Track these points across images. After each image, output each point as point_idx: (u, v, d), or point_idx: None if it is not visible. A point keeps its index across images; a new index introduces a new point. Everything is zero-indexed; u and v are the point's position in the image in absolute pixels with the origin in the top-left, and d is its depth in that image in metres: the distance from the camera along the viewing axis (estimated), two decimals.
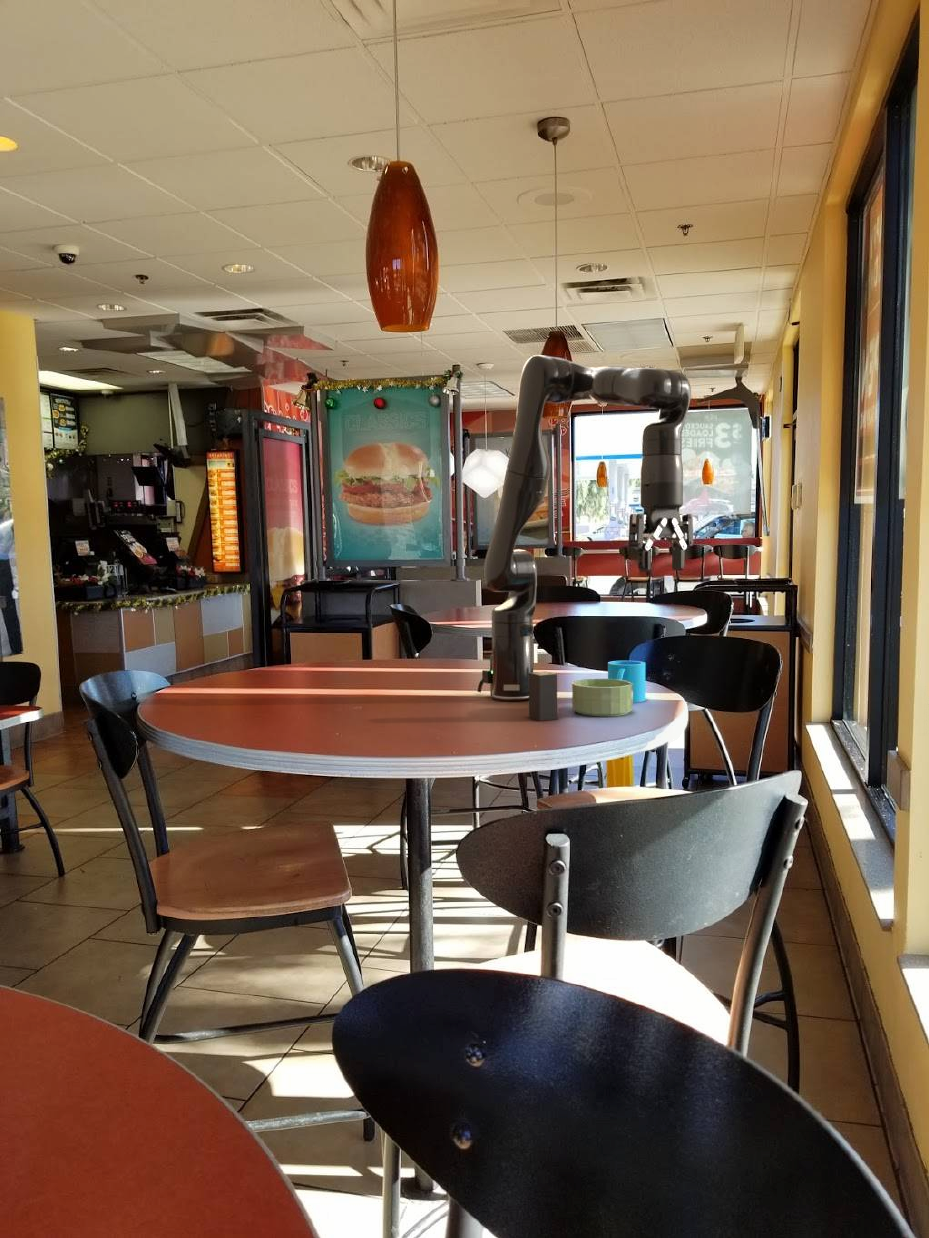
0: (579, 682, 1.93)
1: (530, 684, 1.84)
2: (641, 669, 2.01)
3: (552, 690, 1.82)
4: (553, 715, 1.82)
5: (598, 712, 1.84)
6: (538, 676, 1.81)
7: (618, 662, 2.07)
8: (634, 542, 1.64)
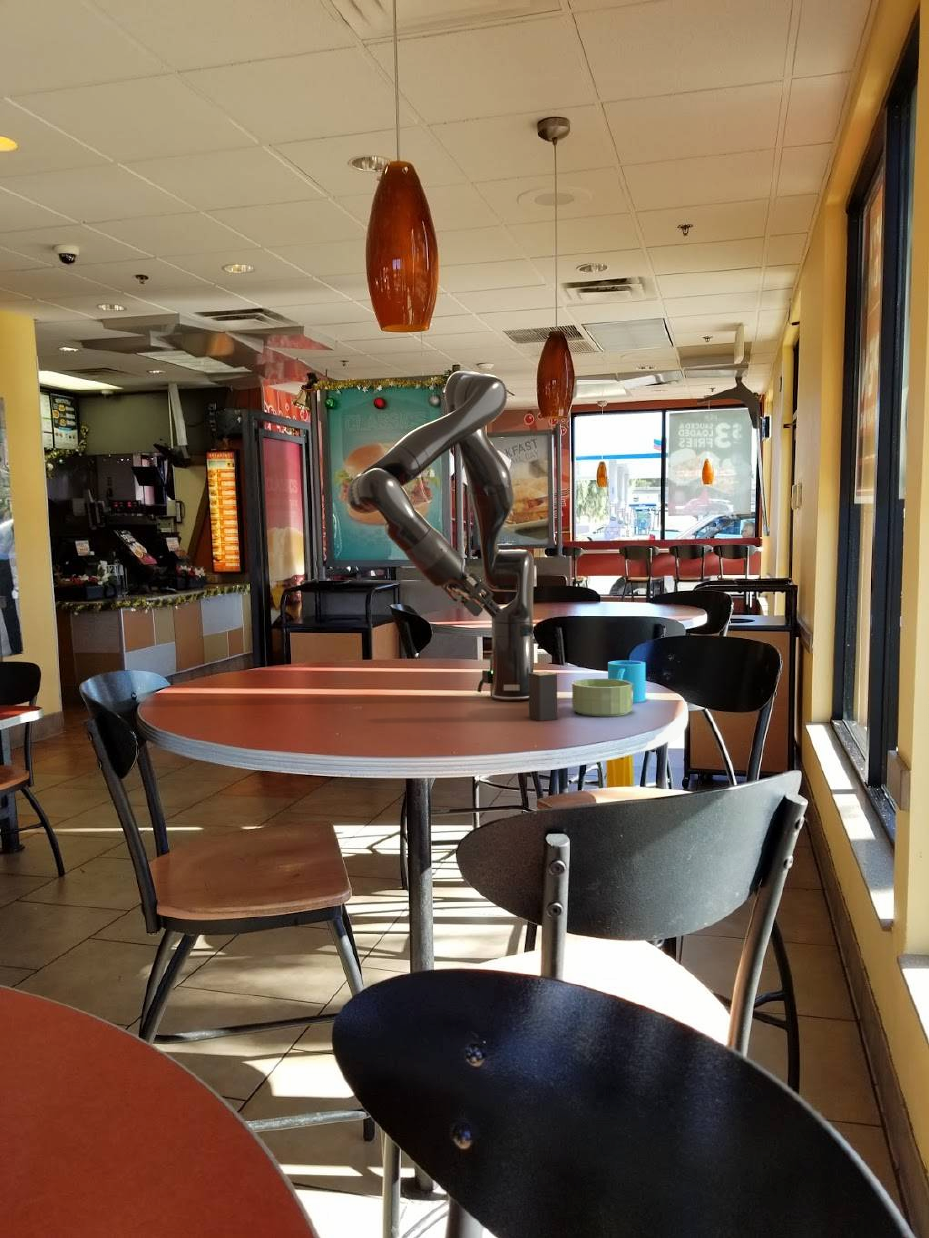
0: (579, 682, 1.93)
1: (530, 684, 1.84)
2: (641, 669, 2.01)
3: (552, 690, 1.82)
4: (553, 715, 1.82)
5: (598, 712, 1.84)
6: (538, 676, 1.81)
7: (618, 662, 2.07)
8: None
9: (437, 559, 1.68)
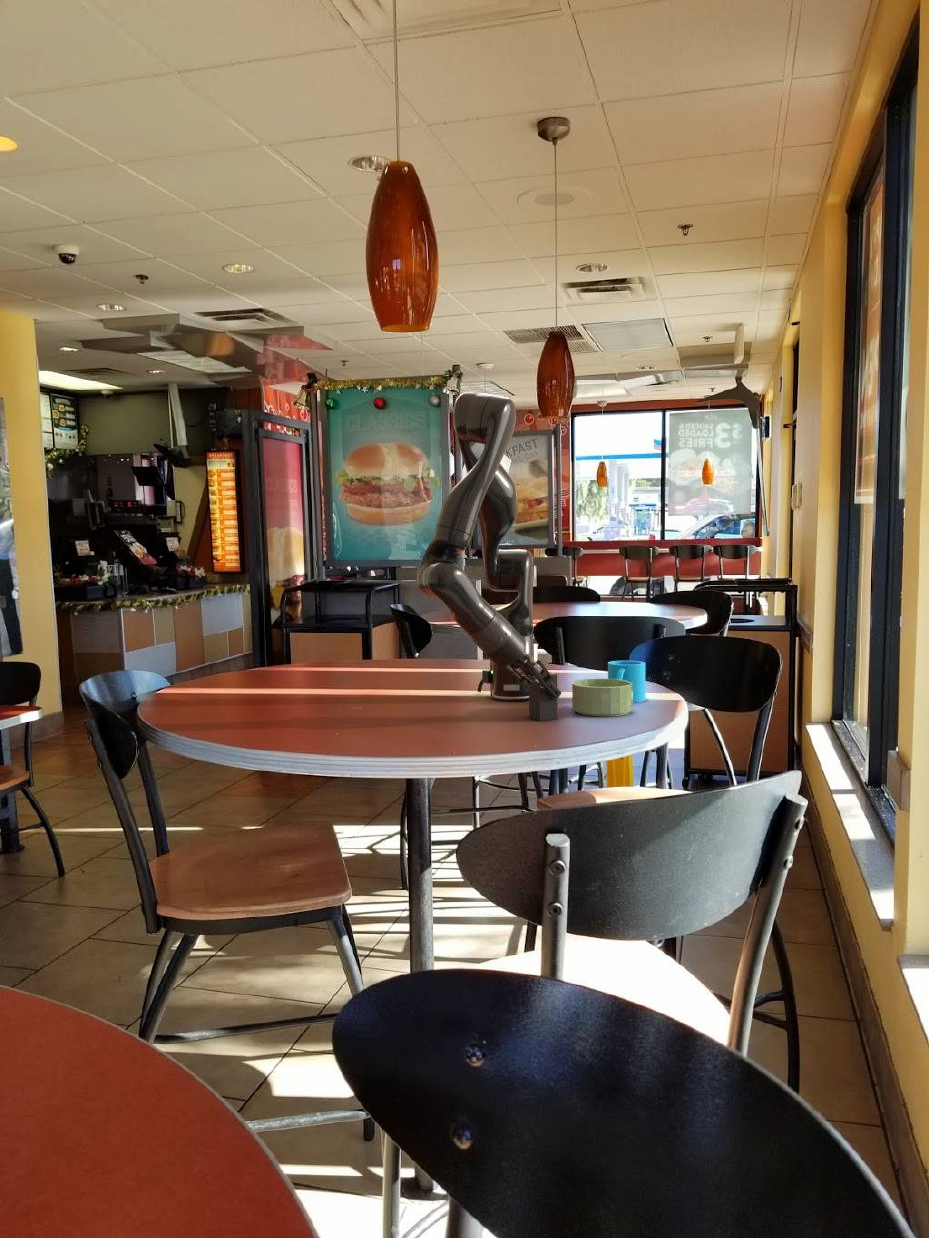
0: (579, 682, 1.93)
1: (530, 684, 1.84)
2: (641, 669, 2.01)
3: None
4: (553, 715, 1.82)
5: (598, 712, 1.84)
6: None
7: (618, 662, 2.07)
8: None
9: (502, 643, 1.75)
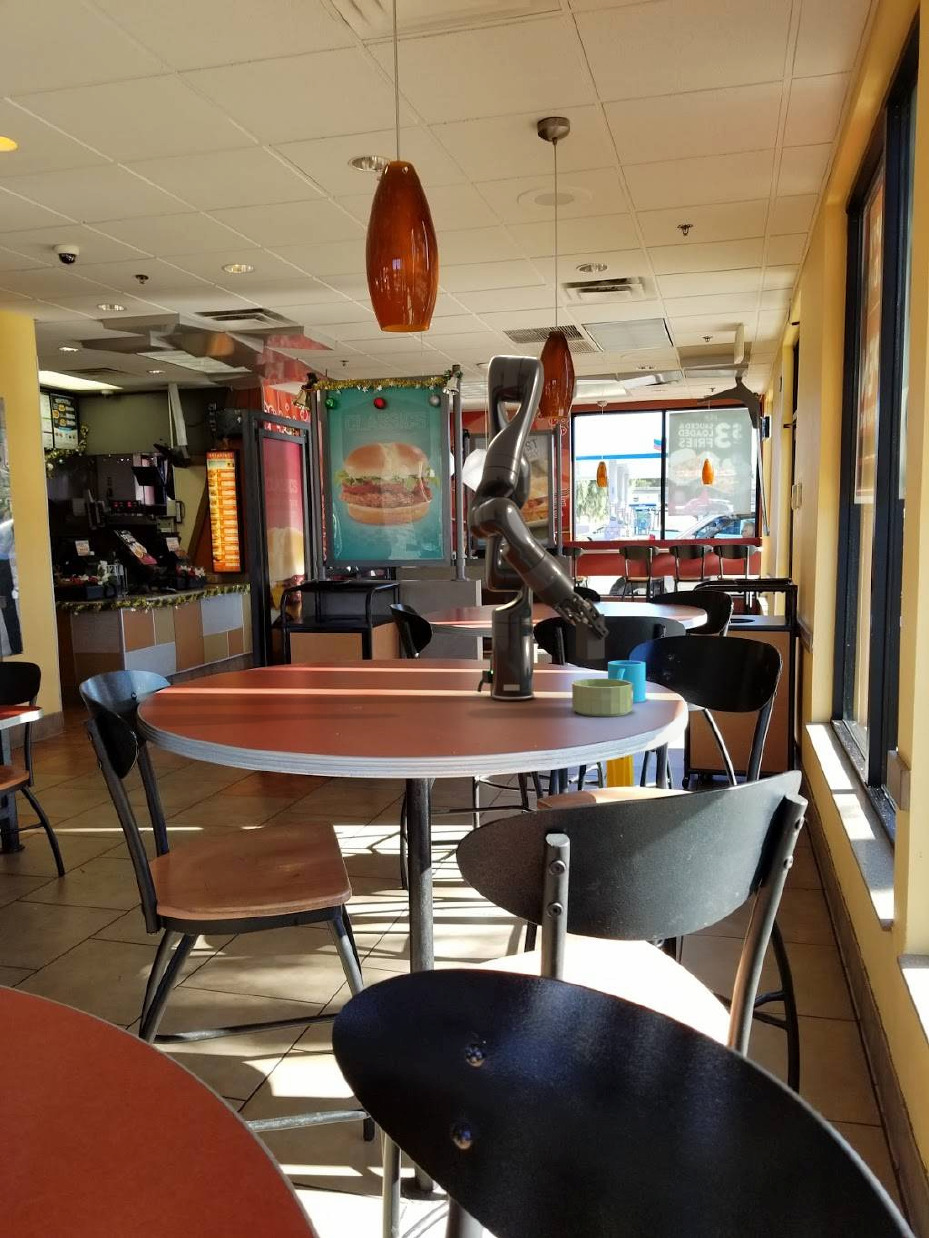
0: (579, 682, 1.93)
1: (577, 624, 1.88)
2: (641, 669, 2.01)
3: None
4: (600, 654, 1.86)
5: (598, 712, 1.84)
6: None
7: (618, 662, 2.07)
8: None
9: (552, 581, 1.79)
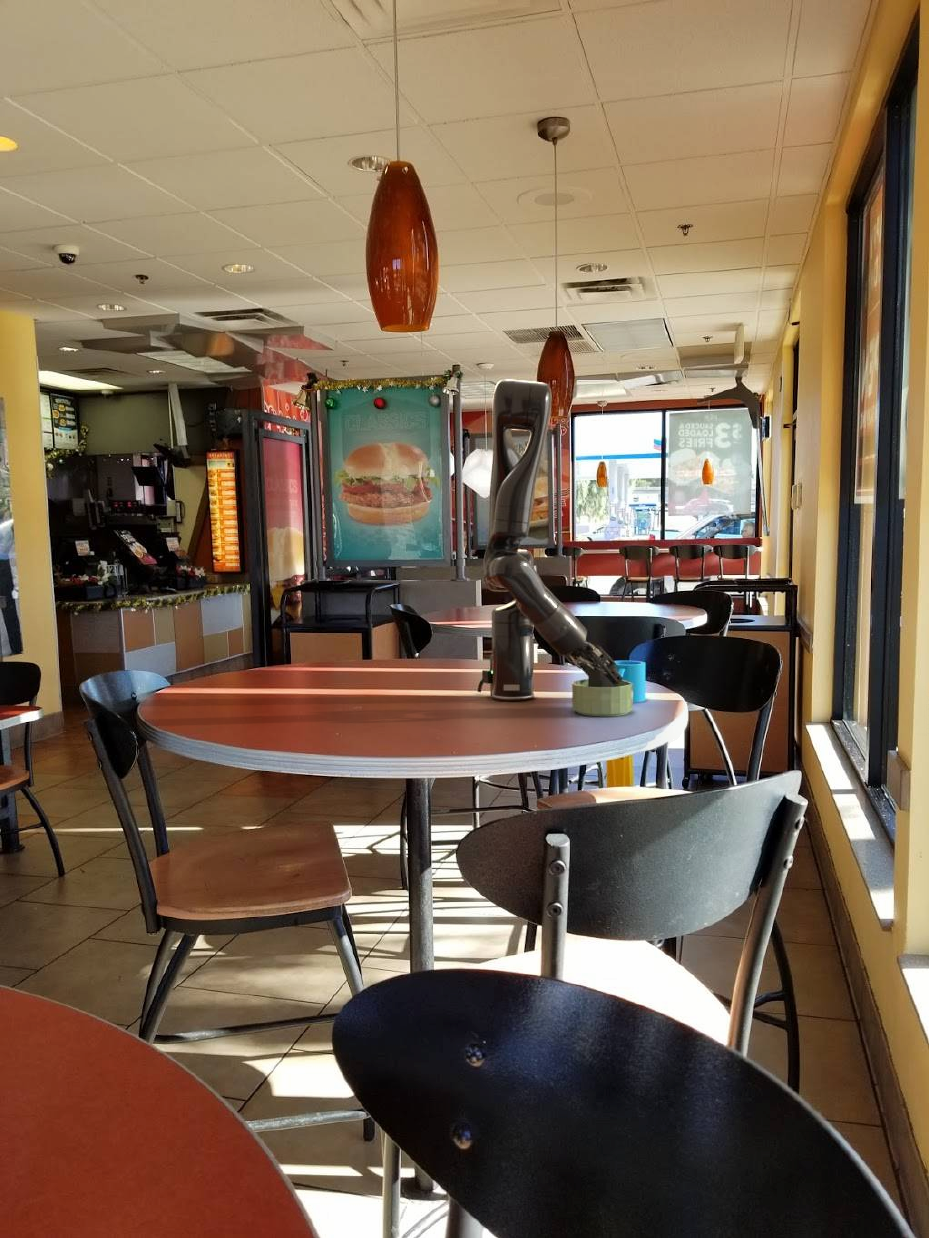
0: (579, 682, 1.93)
1: (590, 676, 1.90)
2: (641, 669, 2.01)
3: None
4: None
5: (598, 712, 1.84)
6: None
7: (618, 662, 2.07)
8: None
9: (565, 632, 1.81)
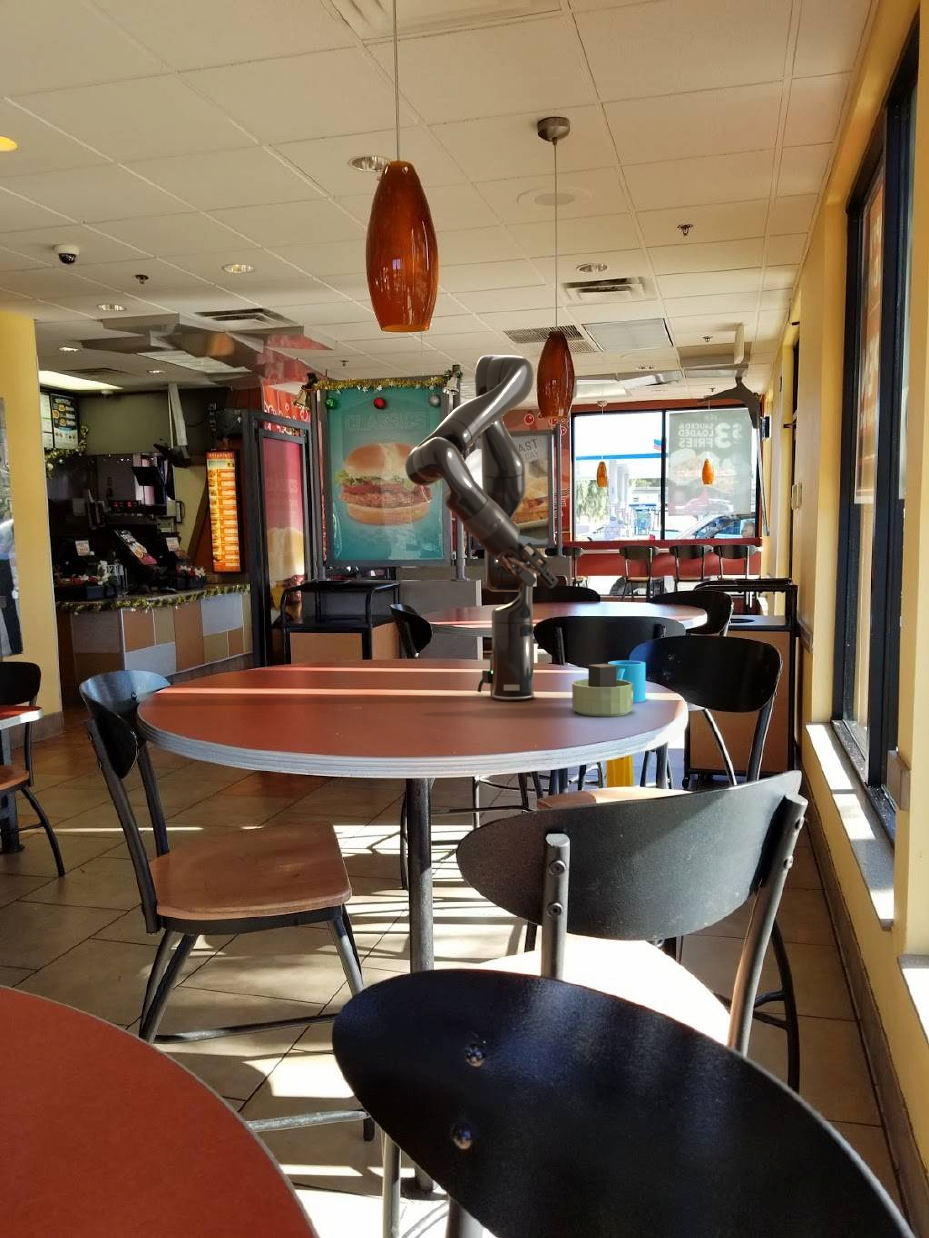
0: (579, 682, 1.93)
1: (590, 676, 1.90)
2: (641, 669, 2.01)
3: (612, 681, 1.88)
4: None
5: (598, 712, 1.84)
6: (598, 668, 1.86)
7: (618, 662, 2.07)
8: None
9: (495, 529, 1.71)
